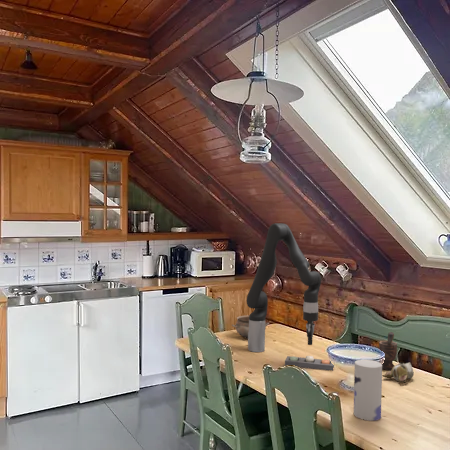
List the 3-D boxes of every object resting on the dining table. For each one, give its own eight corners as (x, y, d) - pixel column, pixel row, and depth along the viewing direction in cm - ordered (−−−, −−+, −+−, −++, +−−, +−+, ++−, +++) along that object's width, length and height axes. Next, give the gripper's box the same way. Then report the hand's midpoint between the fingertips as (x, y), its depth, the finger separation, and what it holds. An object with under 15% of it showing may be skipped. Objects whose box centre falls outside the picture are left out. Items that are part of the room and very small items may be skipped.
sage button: (289, 363, 241) (289, 358, 241) (290, 361, 245) (290, 356, 245) (297, 364, 240) (297, 359, 240) (298, 362, 244) (298, 356, 244)
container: (349, 410, 184) (350, 359, 184) (374, 410, 185) (375, 359, 185) (359, 421, 174) (360, 367, 174) (385, 420, 175) (386, 367, 175)
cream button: (305, 362, 239) (305, 357, 239) (306, 360, 243) (306, 355, 243) (313, 363, 238) (313, 358, 238) (313, 361, 242) (314, 356, 242)
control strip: (284, 365, 240) (284, 360, 240) (287, 360, 248) (287, 356, 248) (333, 370, 233) (333, 365, 233) (334, 365, 242) (334, 360, 242)
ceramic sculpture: (420, 361, 221) (400, 369, 212) (420, 380, 221) (401, 388, 213) (399, 356, 230) (380, 363, 221) (400, 374, 230) (381, 381, 221)
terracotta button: (321, 366, 237) (321, 361, 237) (321, 364, 241) (321, 359, 241) (329, 367, 236) (329, 362, 236) (329, 365, 240) (329, 360, 240)
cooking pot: (236, 342, 283) (237, 322, 283) (226, 335, 301) (226, 316, 301) (274, 340, 292) (275, 320, 291) (262, 333, 309) (262, 314, 309)
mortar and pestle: (403, 372, 232) (404, 332, 232) (387, 373, 231) (388, 332, 231) (390, 365, 244) (391, 327, 244) (375, 366, 242) (376, 327, 242)
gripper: (304, 308, 248) (304, 341, 248) (301, 312, 235) (300, 347, 235) (319, 309, 246) (318, 342, 246) (316, 313, 233) (316, 348, 233)
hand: (310, 344), depth 240 cm, fingers closed
